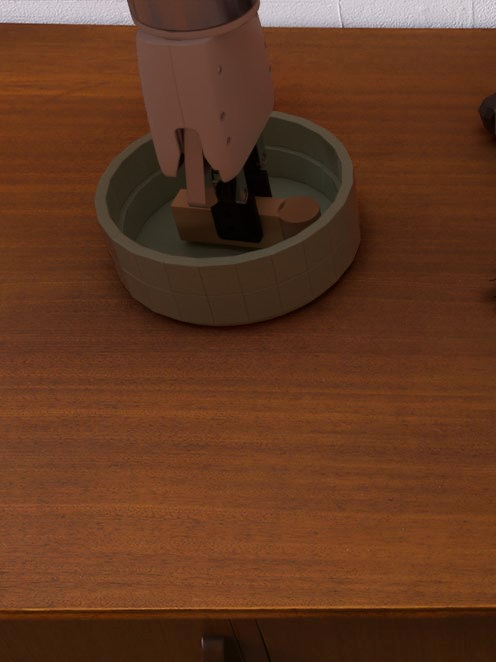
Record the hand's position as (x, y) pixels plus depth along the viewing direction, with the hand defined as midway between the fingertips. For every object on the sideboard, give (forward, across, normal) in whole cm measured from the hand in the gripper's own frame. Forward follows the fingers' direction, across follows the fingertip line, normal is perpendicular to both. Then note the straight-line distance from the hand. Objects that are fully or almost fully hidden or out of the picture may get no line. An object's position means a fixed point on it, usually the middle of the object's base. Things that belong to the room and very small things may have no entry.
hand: (247, 225), depth 72 cm
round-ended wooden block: (+1, 0, 0) cm, 1 cm away
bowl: (+2, 0, -1) cm, 3 cm away
